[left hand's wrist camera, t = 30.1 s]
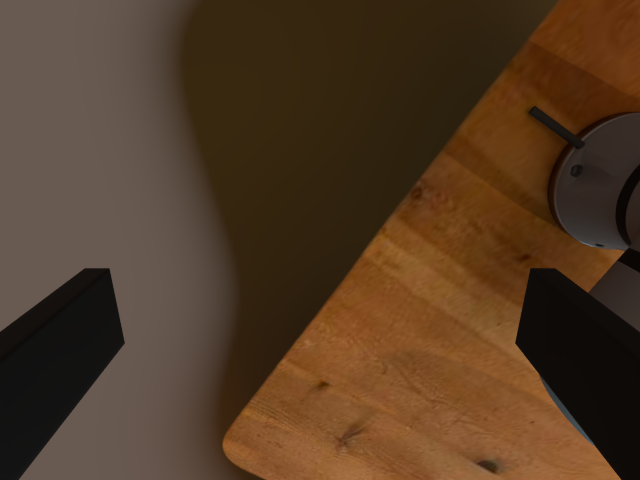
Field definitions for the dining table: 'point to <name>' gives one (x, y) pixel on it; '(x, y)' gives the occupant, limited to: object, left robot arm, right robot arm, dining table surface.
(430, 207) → the dining table surface
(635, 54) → the dining table surface
